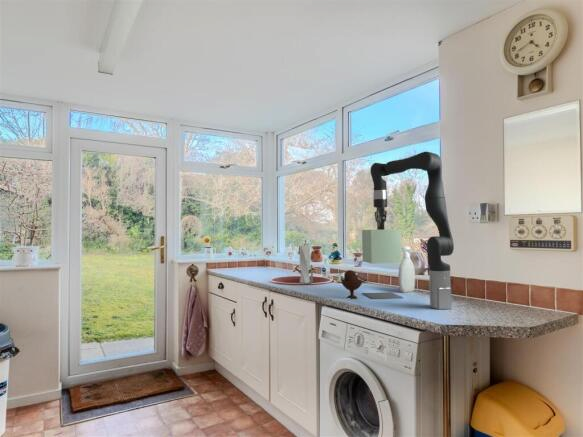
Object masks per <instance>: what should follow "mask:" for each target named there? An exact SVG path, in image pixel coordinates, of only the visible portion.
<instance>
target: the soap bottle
mask: <svg viewBox="0 0 583 437" xmlns="http://www.w3.org/2000/svg"><path fill="white" fill-rule="evenodd" d="M411 249H412V248H411V246H409V245H405V246H403V247H402V246H401V250H405V252H403V253H402V254H403V255H402V263H399V268H398V277H397V278H398V279H397V280H398V287H399V291H400V292H401V293H403V294H404V293H405V294H407V293H408V294H409V293H412V292H413V291H414V289H415V285H416V271H415V266H414V263H413V261H412V259H411V257H410V253H409V252H408V250H411Z"/></svg>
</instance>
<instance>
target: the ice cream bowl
mask: <svg viewBox="0 0 583 437" xmlns="http://www.w3.org/2000/svg"><path fill="white" fill-rule="evenodd" d="M343 276H344V278H343V279H342V280H340V281H341V284H342V286H343V287H344V288H345V289H346V290H348V291H349V293H350V295H348V296H346V298H347V299H348V298H350V299H349V300H357V299H358V296H356V295H355V294H354V293H355V291H357V290H358V289H360V288H361V286H362V283H363V280H362V279H359V276H358V275H357V274H356V272H355V271H353V270H352V269H351V270H349V269H348V270H346V272H344V274H343ZM356 298H357V299H356Z"/></svg>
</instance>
